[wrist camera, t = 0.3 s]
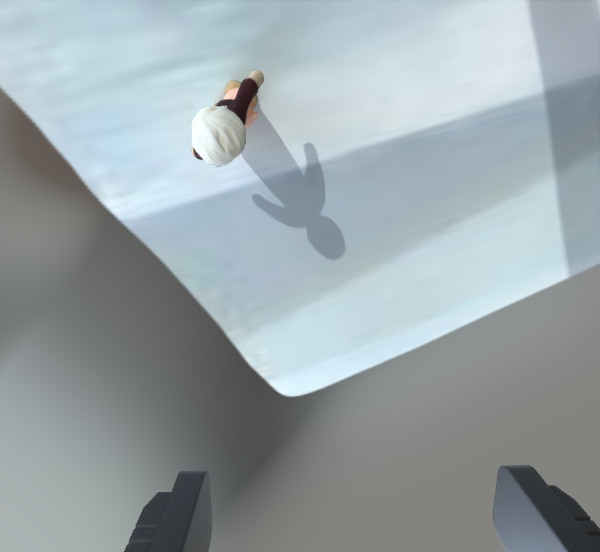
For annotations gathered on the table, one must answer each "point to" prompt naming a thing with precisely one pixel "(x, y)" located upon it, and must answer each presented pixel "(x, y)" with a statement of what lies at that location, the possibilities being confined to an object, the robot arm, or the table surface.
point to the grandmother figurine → (226, 122)
